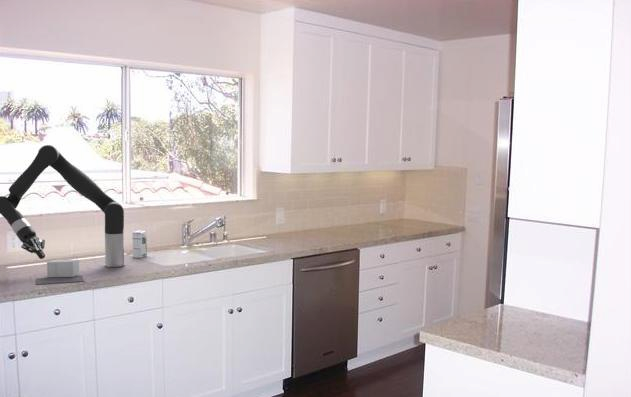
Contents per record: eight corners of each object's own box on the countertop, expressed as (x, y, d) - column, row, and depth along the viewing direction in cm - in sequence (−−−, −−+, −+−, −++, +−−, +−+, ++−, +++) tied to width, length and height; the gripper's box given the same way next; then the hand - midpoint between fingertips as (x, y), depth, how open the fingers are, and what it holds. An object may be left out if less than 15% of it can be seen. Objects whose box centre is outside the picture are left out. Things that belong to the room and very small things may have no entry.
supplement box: (53, 274, 284) (79, 274, 284) (46, 277, 277) (73, 277, 277) (53, 259, 284) (79, 259, 284) (46, 261, 277) (73, 261, 277)
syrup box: (141, 258, 328) (141, 232, 327) (132, 257, 329) (132, 231, 328) (146, 256, 334) (146, 230, 332) (137, 255, 335) (137, 230, 333)
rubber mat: (82, 276, 283) (82, 275, 283) (83, 281, 272) (83, 280, 272) (36, 278, 275) (36, 278, 275) (35, 284, 264) (35, 284, 264)
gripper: (15, 226, 275) (36, 255, 271) (38, 223, 287) (58, 250, 284) (7, 237, 277) (27, 265, 274) (30, 233, 289) (50, 260, 286)
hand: (43, 257), depth 279 cm, fingers closed
